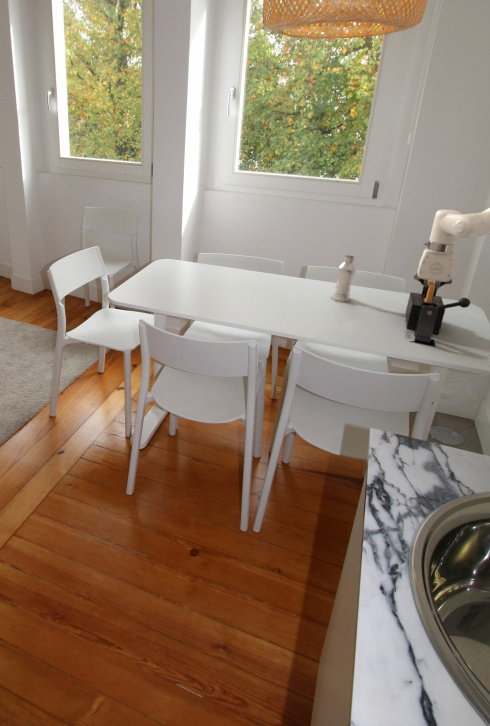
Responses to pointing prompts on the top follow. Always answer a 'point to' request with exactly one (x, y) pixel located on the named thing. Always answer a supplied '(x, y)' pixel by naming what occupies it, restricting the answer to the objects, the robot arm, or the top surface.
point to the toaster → (414, 310)
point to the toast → (429, 291)
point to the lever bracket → (425, 324)
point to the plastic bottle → (344, 279)
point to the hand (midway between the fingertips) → (427, 297)
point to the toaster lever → (455, 304)
